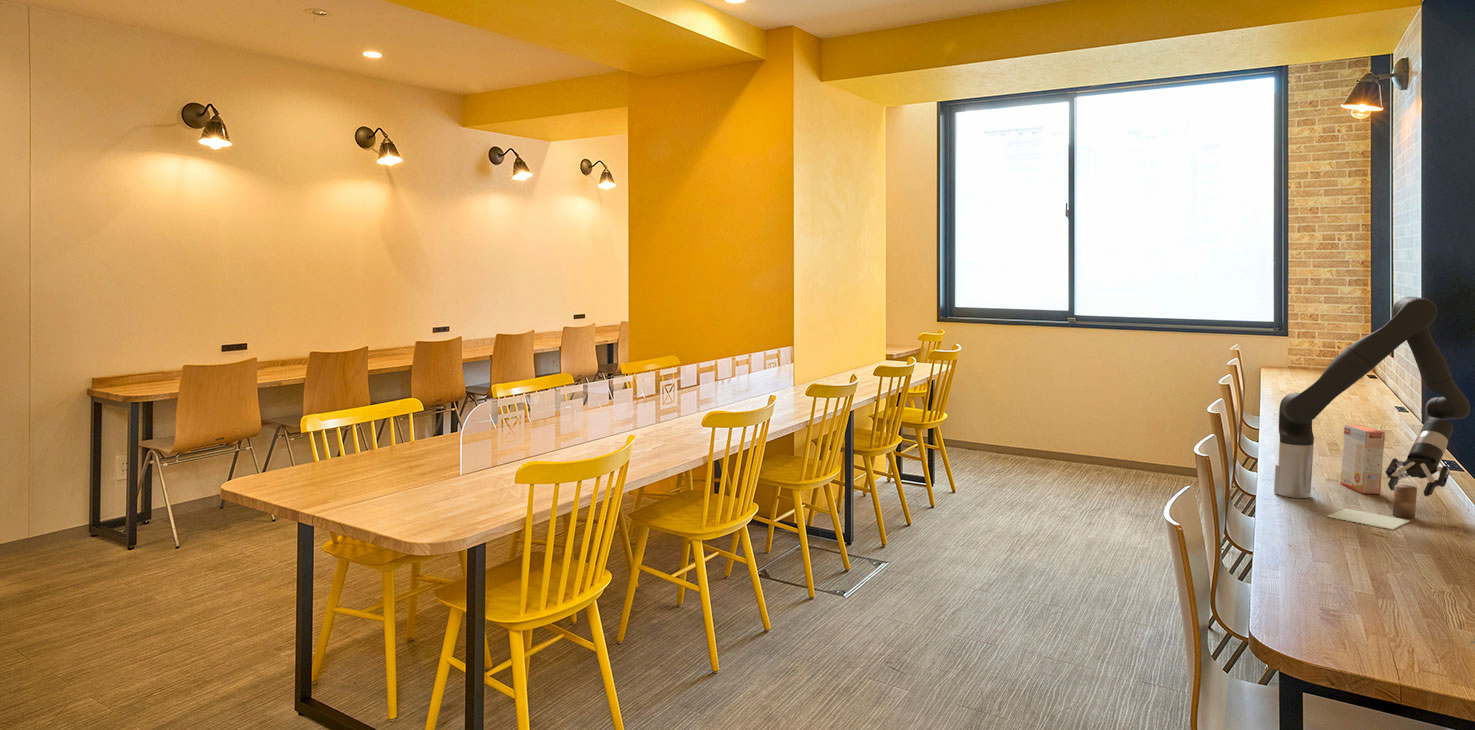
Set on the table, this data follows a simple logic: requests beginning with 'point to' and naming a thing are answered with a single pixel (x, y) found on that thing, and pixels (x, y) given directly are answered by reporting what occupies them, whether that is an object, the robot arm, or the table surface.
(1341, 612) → the table surface
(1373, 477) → the cracker box
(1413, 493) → the walnut cylinder
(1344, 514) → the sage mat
